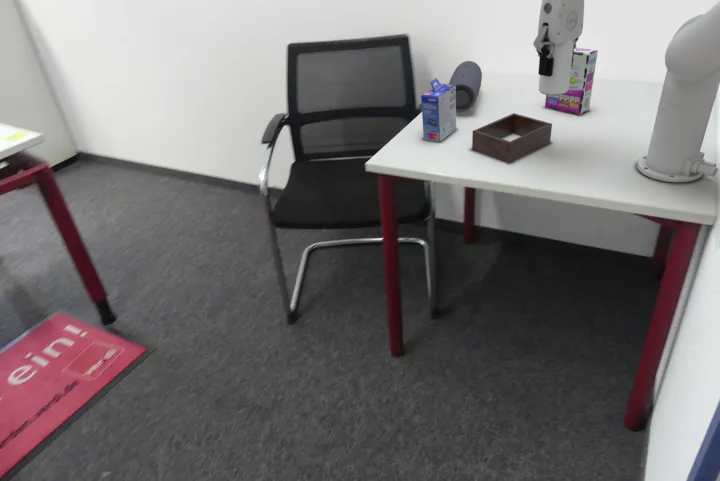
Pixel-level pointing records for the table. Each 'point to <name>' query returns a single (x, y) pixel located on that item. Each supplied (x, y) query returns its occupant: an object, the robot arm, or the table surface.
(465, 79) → the bluetooth speaker
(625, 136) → the table surface
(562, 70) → the can
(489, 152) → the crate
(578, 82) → the candy bar box
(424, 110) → the ink cartridge box
